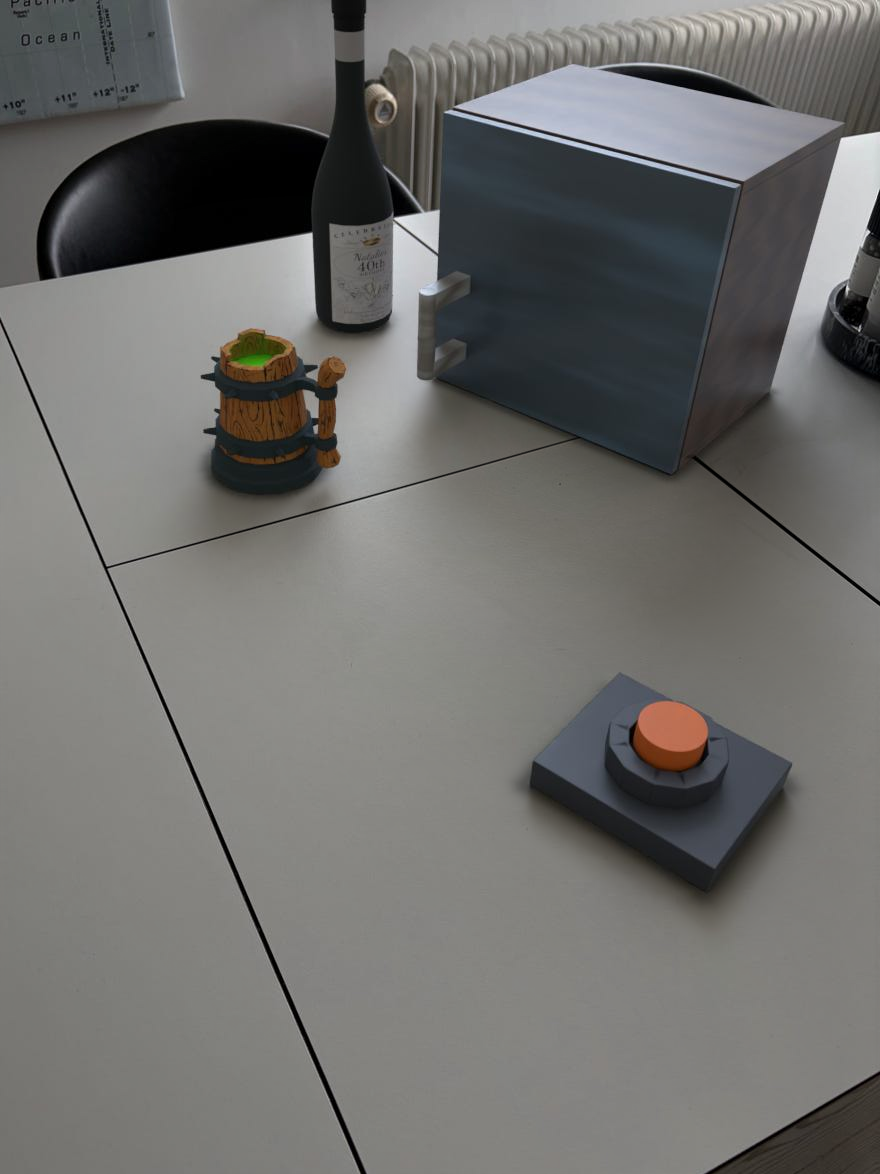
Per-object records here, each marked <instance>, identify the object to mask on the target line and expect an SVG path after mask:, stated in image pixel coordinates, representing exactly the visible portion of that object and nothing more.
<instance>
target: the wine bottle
mask: <svg viewBox="0 0 880 1174" xmlns="http://www.w3.org/2000/svg"><path fill="white" fill-rule="evenodd" d="M330 1H331V3H330V9H331V14H332V19H333V40H334V41H333V42H334V69H335V70H334V73H335V75H334V76H335V77H334V78H335V106H334V115H333V120H332V126H331V129H330V133H329V136H328V138H327V139H328V140H327V143H326V147H325V148H324V152H323V154H322V157H321V160H320V164H319V167H318V170H317V172H316V177H315V180H314V185H313V190H312V199H311V209H310V210H311V211H310V213H311V237H312V256H313V257H312V258H313V279H314V280H313V281H314V302H315V312H316V316H317V319H318V321H320V322H321V323H322V324H323V326H325V327H327V328H328V329H330V330H333V331H336V332H339V333H345V334H362V333H363V334H364V333H367V332H368V333H370V332H372V331H375V330H379V329H380V328H382V327H383V326H385V325H386V324H387V323H388V322H389V320H390V318H391V316H392V313H393V301H394V299H393V297H394V295H393V293H394V288H393V287H394V205H393V204H394V203H393V197H392V191H391V186H390V182H389V179H388V175H387V172H386V170H385V167H384V164H383V161H382V159H381V156H380V153H379V151H378V147H377V145H376V142H375V138H374V136H373V133H372V130H371V126H370V123H369V118H368V112H367V106H366V81H365V80H366V78H365V77H366V74H365V73H366V72H365V71H366V68H365V66H366V65H365V64H366V61H365V56H366V55H365V53H366V52H365V50H366V49H365V44H366V42H365V40H366V38H365V37H366V36H365V33H366V32H365V29H366V26H365V23H366V22H365V21H366V20H365V19H366V15H365V14H367V0H330Z"/></svg>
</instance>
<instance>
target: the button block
mask: <svg viewBox="0 0 880 1174" xmlns="http://www.w3.org/2000/svg"><path fill="white" fill-rule="evenodd" d="M661 701H671V702H677V703H681V704H684V705H686V706H688V707H690V708H692V709H694V710H695V711H696V712H698V713H699V714H700V715H701V716H702V717H703V719H704V720H705V722H706V724H707V727H708V737H707V740H706V743H705V746H704V750H703V753H702V756H701V758H700V760H699V762H698V763H697V764H696V765H695V766H693V767H692V768H690V769H687V770H684V771H679V772H672V771H665V770H660V769H657V768H655V767H653V766H651V765H649V764H647V763H646V762H645V761H643V760H642V759H641V758H640V757H639V755H638V754H637V752H636V750H635V748H634V745H633V737H634V733H635V729H636V725H637V721H638V717H639V715H640V713H641V711H642V710H643V709H644V708H645V707H647V706H648V705H650V704H652V703H655V702H661ZM792 766H793V762H792V761H789V760H787V759H786V758H783V757H782V756H780V755H778V754H776V753H774V752H773V751H770V750H769V749H767V748H765V747H762V746H761V745H759V744H757V743H755V742H754V741H752V740H749V739H748V738H745V737H744V736H742V735H740V734H739V733H736V732H734V731H732V730H730V729H729V728H727V727H724V726H723V725H721V724H719V723H717V722H716V721H714V720H713V718H712V717H711V716H709V715H708V714H706V713H704V712H702V711H701V710H698V709H696V708H694V707H693V706H691V705H689V704H687V703H685V702H683V701H678V700H677V701H676V700H673V699H671V698H669V697H668V696H666V695H664V694H662V693H660V692H658V691H657V690H654V689H653V688H650V687H649V686H647V685H645V684H643V683H641V682H639V681H637V680H635V679H633V678H631V677H629V676H628V675H626V674H624V673H622V672H618V673H617V674H616V675H615V676H614V678H612V679H611V681H609V682H608V683H607V685H605V687H604V688H602V689H601V690H600V691H599V693H597V695H596V696H595V697H594V698H593V699H592V700H591V701H590V702H589V703H588V704H586V706H585V707H584V708H583V709H582V710H581V711H580V712H579V713H578V714H577V715H576V716H575V717H574V718H573V719H572V720H571V721H570V722H569V723H568V724H567V726H565V728H563V730H561V732H560V733H558V735H556V736H555V737H554V739H553V740H552V741H550V743H549V744H547V746H546V747H545V748H544V749H543V750H542V751H541V752H539V754H538V755H537V756H536V757H535V758H534V759H533V760H532V765H531V770H530V771H531V772H530V778H529V785H531V786H532V787H533V788H535V789H537V790H539V791H540V792H542V793H543V794H545V795H547V796H548V797H550V798H551V799H553V800H555V801H557V802H558V803H560V804H562V805H563V806H565V807H567V809H569V810H571V811H572V812H575V813H577V814H578V815H579V816H581V817H583V818H584V819H585V820H588V821H589V822H591V823H593V824H594V825H596V826H597V827H599V828H601V829H602V830H604V831H606V832H607V833H609V834H610V835H612V836H613V837H615V838H617V839H619V840H620V841H622V842H624V843H625V844H627V845H628V846H630V847H631V848H633V849H635V850H637V851H638V852H640V853H641V854H643V855H645V856H646V857H648V858H650V859H651V860H653V861H654V862H656V863H658V864H659V865H661V866H662V867H664V868H666V869H668V870H669V871H671V872H673V873H674V874H676V875H678V876H679V877H680V878H682V879H684V880H685V881H688V882H689V883H691V884H692V885H694V886H695V887H697V888H699V889H700V890H702V891H704V892H706V893H707V892H708V891H709V890H710V888H711V887H712V886H713V884H714V883H715V881H716V880H717V879H718V877H719V876H720V875H721V873H722V872H723V870H724V869H725V868H726V866H727V865H728V863H730V861H731V859H732V858H733V857H734V855H735V854H736V853H737V851H738V850H739V848H740V847H741V846H742V844H743V843H744V841H745V840H746V839H747V837H748V836H749V835H750V833H751V832H752V831H753V830H754V828H755V826H756V825H757V823H758V822H759V821H760V819H761V818H762V817H763V815H764V814H765V813H766V811H767V810H768V809H769V807H770V806H771V804H772V803H773V801H774V800H775V799H776V798H777V796H778V794H780V792H781V790H782V789H783V788H784V786H785V784H786V781H787V779H788V777H789V774H790V772H791V769H792Z"/></svg>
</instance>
